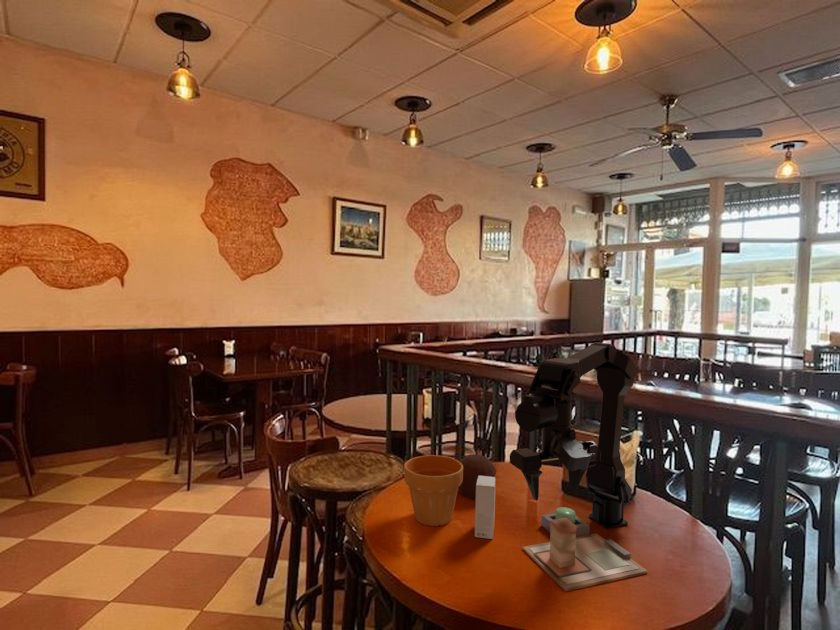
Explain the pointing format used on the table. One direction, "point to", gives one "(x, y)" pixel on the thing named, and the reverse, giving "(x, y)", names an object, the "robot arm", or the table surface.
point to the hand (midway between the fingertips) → (554, 496)
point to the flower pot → (433, 487)
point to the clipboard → (587, 563)
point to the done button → (565, 514)
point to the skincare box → (485, 507)
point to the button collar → (581, 526)
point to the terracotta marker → (562, 542)
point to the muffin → (474, 473)
